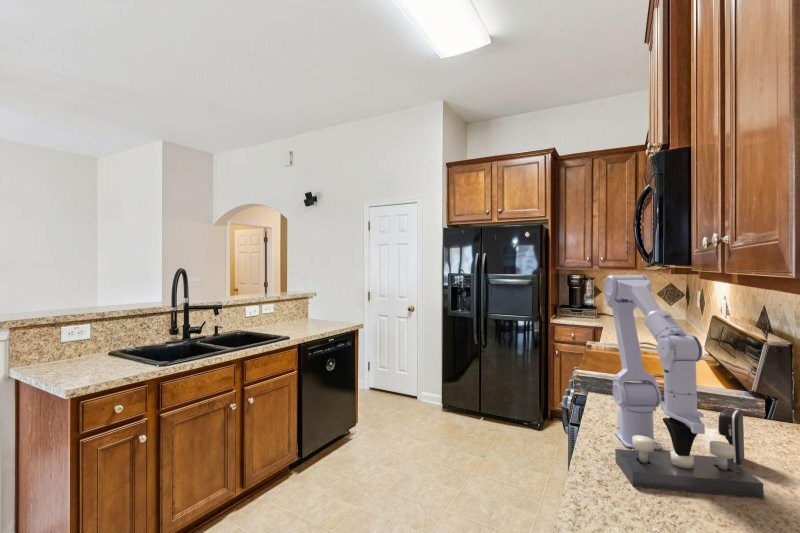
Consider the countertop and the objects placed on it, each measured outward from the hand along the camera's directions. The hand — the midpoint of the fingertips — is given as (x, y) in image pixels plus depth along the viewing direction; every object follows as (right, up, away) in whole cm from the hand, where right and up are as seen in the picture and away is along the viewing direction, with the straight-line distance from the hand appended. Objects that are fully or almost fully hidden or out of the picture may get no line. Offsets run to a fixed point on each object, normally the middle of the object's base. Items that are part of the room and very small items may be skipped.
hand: (682, 454), depth 83 cm
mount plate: (0, -5, 0) cm, 5 cm away
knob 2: (+7, -2, -2) cm, 8 cm away
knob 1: (-7, -2, +2) cm, 8 cm away
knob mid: (0, -5, 0) cm, 5 cm away
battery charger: (+18, -5, +8) cm, 20 cm away
